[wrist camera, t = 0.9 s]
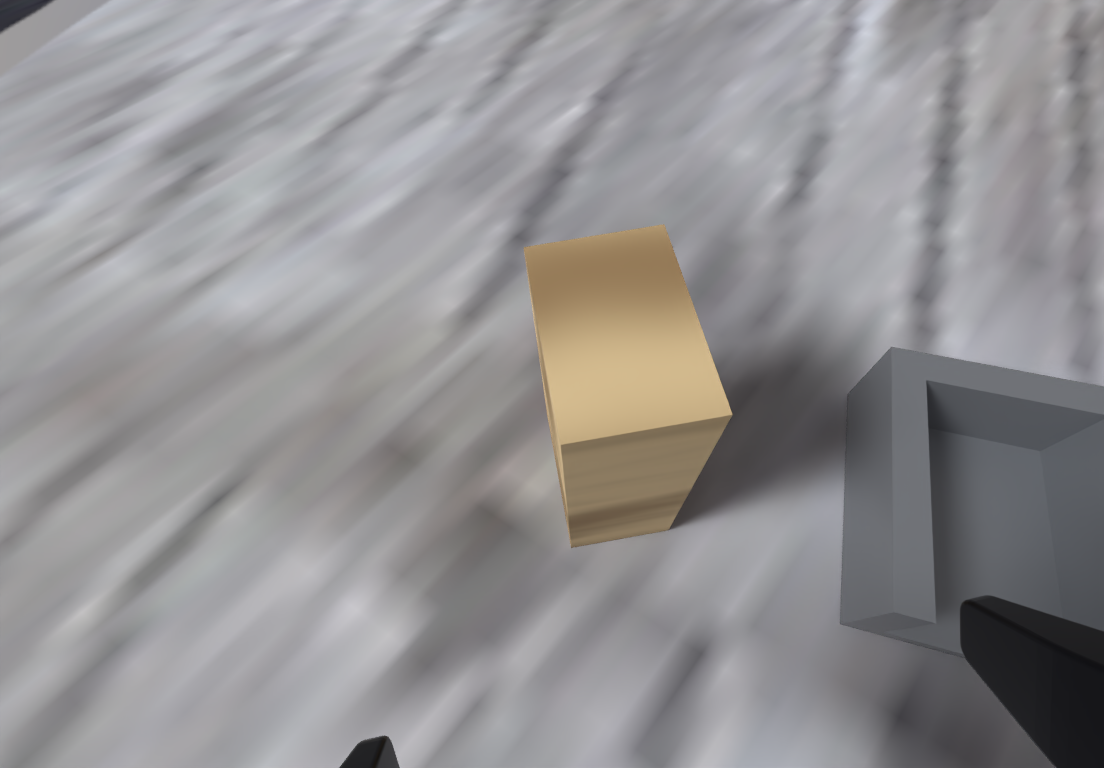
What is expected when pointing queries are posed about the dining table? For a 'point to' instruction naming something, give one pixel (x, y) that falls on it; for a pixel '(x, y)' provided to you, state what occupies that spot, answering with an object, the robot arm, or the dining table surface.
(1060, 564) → the end cap
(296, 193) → the dining table surface
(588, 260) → the block
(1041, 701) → the robot arm
